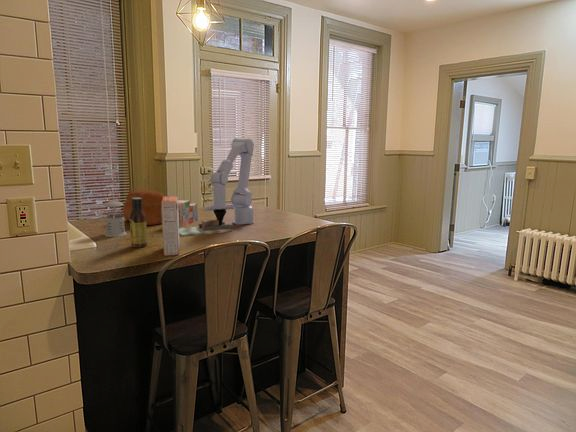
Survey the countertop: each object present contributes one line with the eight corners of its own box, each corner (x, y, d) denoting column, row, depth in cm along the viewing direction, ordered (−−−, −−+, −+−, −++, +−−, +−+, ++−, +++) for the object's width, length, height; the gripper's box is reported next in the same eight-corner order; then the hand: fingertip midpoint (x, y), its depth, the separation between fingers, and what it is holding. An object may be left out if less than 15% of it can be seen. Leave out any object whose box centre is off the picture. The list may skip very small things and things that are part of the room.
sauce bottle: (133, 244, 170) (131, 196, 167) (149, 244, 171) (147, 196, 167) (129, 248, 164) (126, 198, 160) (145, 248, 164) (142, 199, 161)
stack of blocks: (187, 219, 224) (186, 197, 222) (197, 220, 223) (197, 198, 221) (168, 227, 203) (167, 203, 201) (180, 228, 202) (179, 203, 200)
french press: (104, 237, 180) (101, 180, 176) (102, 232, 191) (99, 178, 186) (128, 235, 185) (125, 180, 180) (125, 230, 195) (122, 177, 191)
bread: (143, 227, 203) (142, 193, 200) (120, 221, 216) (118, 189, 213) (173, 222, 216) (172, 190, 213) (149, 217, 229) (148, 187, 226)
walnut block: (215, 227, 203) (215, 219, 202) (218, 228, 199) (218, 220, 198) (201, 228, 199) (201, 220, 198) (204, 230, 195) (204, 221, 195)
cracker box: (164, 247, 167) (162, 196, 163) (180, 246, 168) (178, 195, 165) (162, 256, 154) (160, 201, 150) (179, 255, 155) (177, 200, 151)
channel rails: (224, 225, 206) (223, 221, 206) (229, 228, 200) (229, 224, 199) (198, 227, 200) (198, 223, 200) (203, 231, 193) (203, 226, 193)
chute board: (221, 226, 209) (221, 224, 209) (231, 231, 197) (231, 230, 197) (174, 230, 198) (174, 228, 197) (181, 236, 186) (181, 234, 185)
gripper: (207, 198, 192) (208, 227, 194) (236, 197, 198) (236, 224, 201) (203, 196, 198) (203, 224, 200) (231, 195, 205) (231, 222, 207)
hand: (219, 224), depth 201 cm, fingers closed
